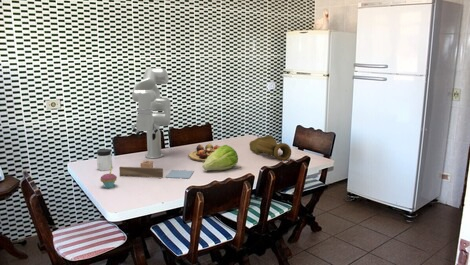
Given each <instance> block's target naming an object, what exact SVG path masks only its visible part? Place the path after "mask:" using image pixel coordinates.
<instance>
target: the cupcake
mask: <svg viewBox="0 0 470 265" xmlns="http://www.w3.org/2000/svg"><path fill="white" fill-rule="evenodd" d="M112 168H113V165H112V166H111V168H110V171H109V173H105V174H102V175H101V176H100V182H101V183H102V184H103V186H104V188H106V189H107V188H108V189H109V188H113V187H114V186H115V183H116V181H117V178H118V177H117V175H116V174H114V173H112V171H113V170H112Z"/></svg>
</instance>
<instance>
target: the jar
mask: <svg viewBox="0 0 470 265" xmlns="http://www.w3.org/2000/svg"><path fill="white" fill-rule="evenodd" d="M96 151H97V152H96V154H97V155H96V161H97V162H96V163H97V170H99V171H109V170H110V168H111V166H112V167H113V159H112V158H113V157H112V156H113V155H112V151H111V149H109V148H103V149H98V150H96Z"/></svg>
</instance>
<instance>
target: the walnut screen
mask: <svg viewBox="0 0 470 265" xmlns="http://www.w3.org/2000/svg"><path fill="white" fill-rule="evenodd" d="M119 177H130V178H131V177H134V178H135V177H136V178H151V179H152V178H156V179H157V178H159V179H163V178H164V167H163V168H161V167H153V168H143V167H141V166H140V167H138V166H119Z"/></svg>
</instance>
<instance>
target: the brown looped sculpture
mask: <svg viewBox="0 0 470 265" xmlns="http://www.w3.org/2000/svg"><path fill="white" fill-rule="evenodd" d="M273 136H274V135H273ZM273 136H272V135H271V134H270V135H266V136H265V135H264V136H262V137H260V136H259V137H257V138H256V139H254V140H251V141H250V142H249V150H250V151H251V152H253V153H254V154H255V153H256V154H255V155H262V154H265V155H268V156H269V155H272V157H275V158H276V159H277V160H279V161H280V160H286V161H288V160H289V159H290V157H291V155H292V148H291V146H290V145H289V144H288V143H285V142H284V143H283V142H280V143H277V141H276V140H275V138H274V137H273ZM279 150H281V151H282V153H281V154H279Z"/></svg>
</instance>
